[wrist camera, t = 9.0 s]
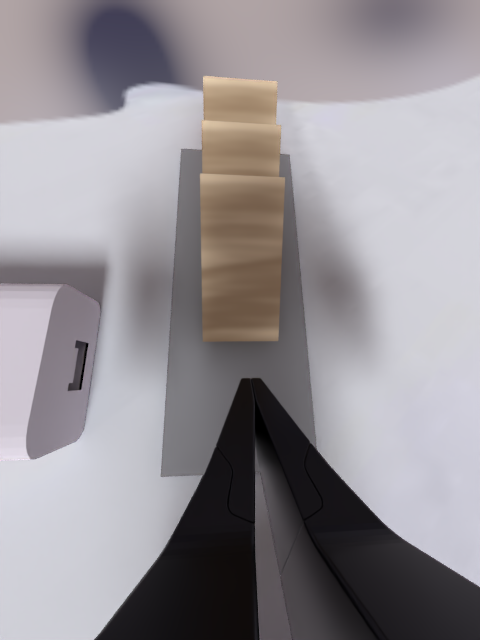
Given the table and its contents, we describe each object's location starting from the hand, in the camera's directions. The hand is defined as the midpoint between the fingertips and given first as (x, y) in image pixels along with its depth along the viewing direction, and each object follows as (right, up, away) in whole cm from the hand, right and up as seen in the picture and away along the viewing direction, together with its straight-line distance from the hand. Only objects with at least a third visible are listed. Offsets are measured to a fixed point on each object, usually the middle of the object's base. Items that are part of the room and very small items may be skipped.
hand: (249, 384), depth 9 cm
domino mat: (-1, +6, +8) cm, 10 cm away
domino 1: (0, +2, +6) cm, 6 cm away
